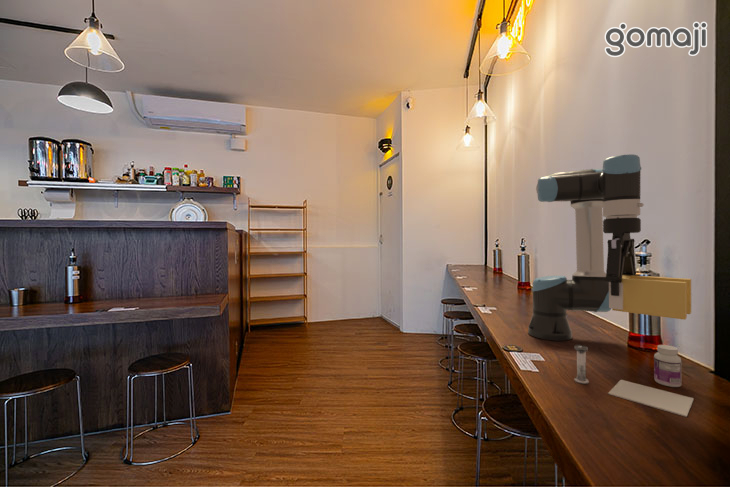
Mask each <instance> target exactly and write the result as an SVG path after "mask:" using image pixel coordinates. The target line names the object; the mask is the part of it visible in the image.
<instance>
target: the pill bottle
mask: <svg viewBox="0 0 730 487" xmlns="http://www.w3.org/2000/svg"><path fill="white" fill-rule="evenodd" d="M656 349H657V352H655V353H654V355H653V361H654V362H653V377H654V381H655V382H656V383H658V384H659V385H662V386H666V387H671V388H679V387H682V358H681V357H680V356H679V355H678V354H679V353H678V352H679V349H678V347H676V346H672V345H668V344H658V345H657V348H656Z"/></svg>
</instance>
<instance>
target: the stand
mask: <svg viewBox="0 0 730 487" xmlns="http://www.w3.org/2000/svg"><path fill="white" fill-rule="evenodd" d="M574 349H575V351H576V376H575V377H574V382H575V383H577V384H582V385H588V384H589V379H588V378H587V368H586V367H587V363H586V361H587V360H586V359H587V352H588V351H589V346H587V345H584V344H583V345H582V344H575V345H574Z"/></svg>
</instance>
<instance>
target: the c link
mask: <svg viewBox="0 0 730 487" xmlns="http://www.w3.org/2000/svg"><path fill="white" fill-rule="evenodd" d="M622 283H623V310H620V309H613V308H612V309H611V310H612V311H615V312H622V313H631V314H637V315H638V314H639V315H646V316H652V317H653V316H654V317H661V318H668V319H676V320H677V319H678V320H683V321H684V320H686V319H687V318H688V315H691V314H692V278H685V277H684V278H683V277H682V278H681V277H680V278H679V277H667V276H651V275H650V276H649V275H638V276H635V275H622Z"/></svg>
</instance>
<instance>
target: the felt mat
mask: <svg viewBox="0 0 730 487" xmlns="http://www.w3.org/2000/svg"><path fill="white" fill-rule="evenodd" d="M607 394H608V395H610V396H613V397H617V398H621V399H623V400H628V401H630V402H633V403H637V404H640V405H644V406H648V407H651V408H654V409H658V410H661V411H665V412H668V413H672V414H675V415H679V416H682V417H686V418H687V417H688V415H689V413H690V410H691V407H692V405H693V403H694V397H690V396H686V395H682V394H678V393H674V392H670V391H667V390H663V389H659V388H655V387H651V386H647V385H643V384H639V383H635V382H633V381H632V382H631V381H629V380H624V379H620V380H619V381H617V383H616V384H615V385H614V386H613V387H612V388H611V389H610V390H609V392H607Z"/></svg>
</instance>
